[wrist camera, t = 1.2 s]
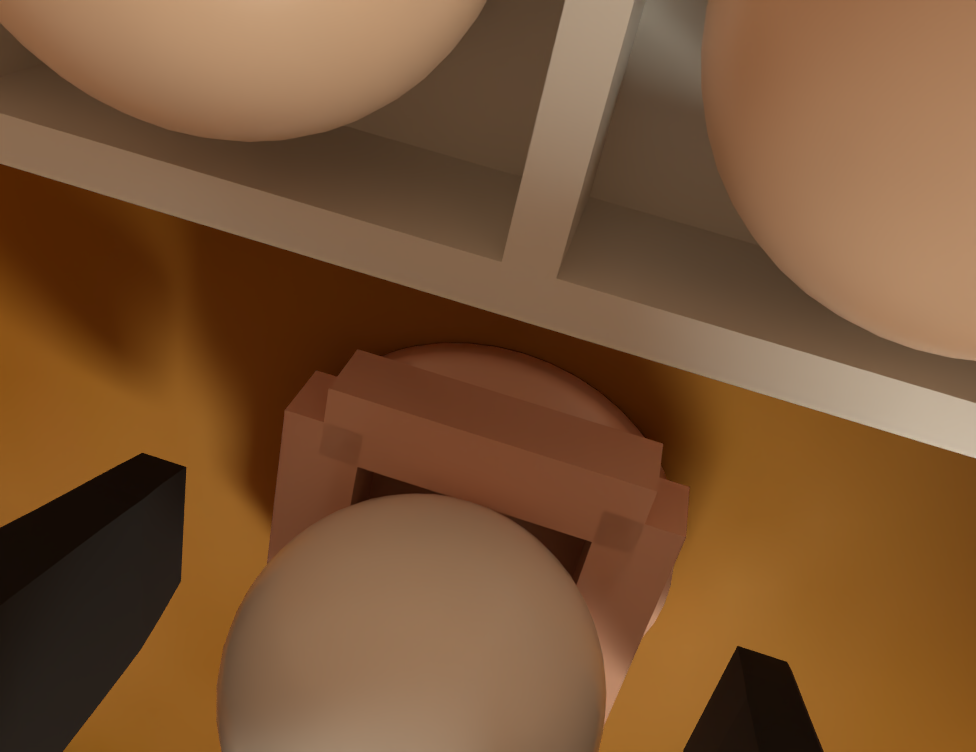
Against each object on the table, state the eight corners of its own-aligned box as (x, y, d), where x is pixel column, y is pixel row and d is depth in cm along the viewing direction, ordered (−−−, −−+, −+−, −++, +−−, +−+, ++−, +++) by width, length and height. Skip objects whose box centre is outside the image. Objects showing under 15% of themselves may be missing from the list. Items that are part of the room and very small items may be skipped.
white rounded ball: (669, 486, 11) (636, 803, 8) (575, 716, 14) (515, 1044, 10) (328, 379, 12) (137, 632, 8) (293, 621, 14) (134, 903, 10)
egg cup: (734, 418, 12) (734, 493, 10) (611, 701, 15) (599, 789, 13) (319, 290, 12) (266, 347, 11) (280, 591, 15) (235, 663, 14)
